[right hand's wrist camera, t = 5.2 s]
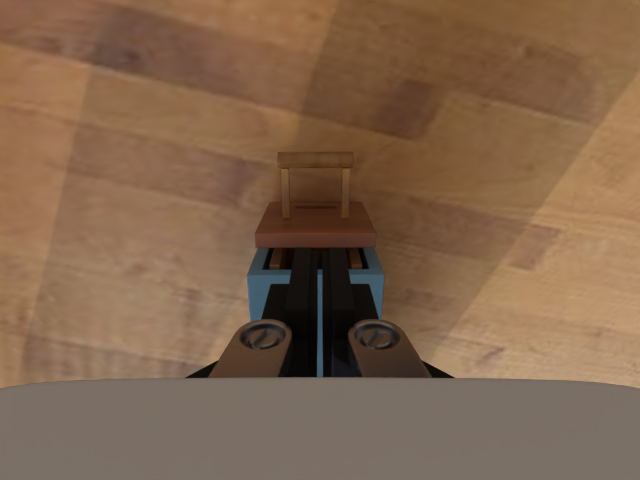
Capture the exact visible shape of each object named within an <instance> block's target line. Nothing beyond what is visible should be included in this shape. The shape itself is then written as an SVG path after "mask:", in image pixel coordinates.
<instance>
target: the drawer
mask: <svg viewBox="0 0 640 480" xmlns="http://www.w3.org/2000/svg"><path fill="white" fill-rule="evenodd" d="M278 167H279V168H281V183H282V202H270V203H269V205H268V207H267V209H266V211H265V213H264V215H263V218H262V220H261V222H260V224H259V226H258V228H257V230H256V232H255V245H256V248H274V251H273V255H272V258H271V262H270V265H269V268H270V270H292V264H293V258H294V252H295V247H311V252H317V261H318V270H320V269H322V261H323V252H329V247H345V252H346V258H347V264H348V269H362V263H361V259H360V256H359V252H358V249H357V248H366V247H376V231H375V229H374V227H373V225H372V223H371V221H370V219H369V216H368V214H367V212H366V210H365V208H364V206H363V204H362V202H349V188H350V168H352V167H353V152H278ZM289 168H342V190H341V202H290V182H289Z"/></svg>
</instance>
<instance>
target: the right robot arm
mask: <svg viewBox="0 0 640 480" xmlns="http://www.w3.org/2000/svg"><path fill="white" fill-rule="evenodd" d="M317 343H318V261H317V252H311V247H295V252H294V258H293V264H292V270H291V276H290V281H289V284H271V285H270V288H269V292H268V295H267V299H266V303H265V306H264V310H263V314H262V317H261V320H256V321H252V322H250V323H247V324H245V325H244V326H242V327H240V328H239V329H238V331H237V332H236V333H235V334H234V336H233V338H232V339H231V341H230V343H229V344H228V346H227V347H226V349H225V351H224V352H223V354H222V355H221V357H220V359H219V360H218V361H216V362H214V363H212V364H210V365H208V366H207V367H205V368H203V369H201V370H199V371H197V372H195V373H193V374H191V375H190V376H188V377H186V378H164V379H108V380H77V381H57V382H44V383H33V384H26V385H18V386H11V387H6V388H1V389H0V480H640V389H639V388H634V387H629V386H622V385H614V384H606V383H597V382H583V381H566V380H530V379H482V378H454V377H452V376H450V375H449V374H447V373H445V372H443V371H441V370H439V369H437V368H435V367H433V366H432V365H430V364H428V363H426V362H424V361H422V360H421V359H420V357H419V355H418V354H417V352H416V351H415V349H414V347H413V346H412V344H411V343H410V341H409V339H408V338H407V336H406V334H405V333H404V332H403V331H402V329H401V328H400V327H398V326H396V325H395V324H393V323H390V322H388V321H384V320H379V317H378V314H377V310H376V306H375V303H374V299H373V295H372V292H371V288H370V285H369V284H351V281H350V276H349V270H348V264H347V258H346V252H345V247H329V252H323V261H322V343H323V377H317Z"/></svg>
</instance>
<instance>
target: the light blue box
mask: <svg viewBox="0 0 640 480" xmlns="http://www.w3.org/2000/svg"><path fill="white" fill-rule="evenodd" d="M357 249H358V252H359V256H360V259H361V263H362V269H348V270H349V276H350V281H351V284H369V285H370V288H371V292H372V295H373V299H374V303H375V306H376V310H377V314H378V317H379V320H381V318H382V304H383V290H384V273H383V270H382V267H381V265H380V262H379V260H378V257H377V255H376V252H375V250H374V247H366V248H357ZM273 251H274V248H258V250H257V252H256V254H255V257H254V259H253V262H252V264H251V267H250V269H249V272H248V274H247V283H248V296H249V309H250V321H251V322H252V321H256V320H261V317H262V314H263V310H264V306H265V303H266V299H267V295H268V292H269V288H270V285H271V284H289V281H290V276H291V270H270V268H269V265H270V262H271V258H272V255H273ZM317 377H323V343H322V269H320V270H318V343H317Z"/></svg>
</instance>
